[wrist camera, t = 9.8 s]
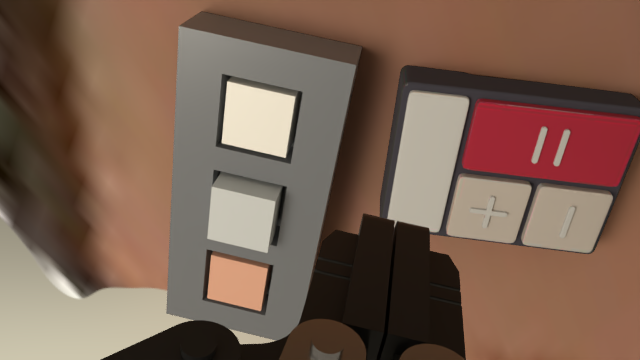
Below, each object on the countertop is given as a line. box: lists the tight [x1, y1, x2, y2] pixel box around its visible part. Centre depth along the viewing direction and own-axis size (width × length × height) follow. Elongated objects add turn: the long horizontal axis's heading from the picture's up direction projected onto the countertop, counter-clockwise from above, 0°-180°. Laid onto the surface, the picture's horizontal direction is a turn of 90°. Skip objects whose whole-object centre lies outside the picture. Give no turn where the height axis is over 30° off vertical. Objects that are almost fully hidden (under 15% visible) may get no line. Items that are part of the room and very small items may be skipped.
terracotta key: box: [207, 251, 272, 311], centre depth 44 cm, size 4×4×2 cm
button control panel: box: [380, 65, 640, 254], centre depth 37 cm, size 11×4×15 cm
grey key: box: [207, 172, 283, 253], centre depth 39 cm, size 4×4×2 cm
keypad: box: [167, 11, 362, 340], centre depth 41 cm, size 11×24×4 cm, turn 170°
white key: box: [222, 76, 301, 158], centre depth 37 cm, size 4×4×2 cm
